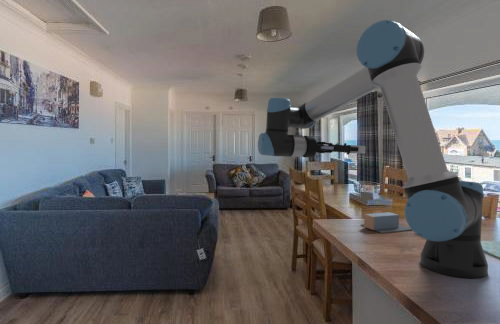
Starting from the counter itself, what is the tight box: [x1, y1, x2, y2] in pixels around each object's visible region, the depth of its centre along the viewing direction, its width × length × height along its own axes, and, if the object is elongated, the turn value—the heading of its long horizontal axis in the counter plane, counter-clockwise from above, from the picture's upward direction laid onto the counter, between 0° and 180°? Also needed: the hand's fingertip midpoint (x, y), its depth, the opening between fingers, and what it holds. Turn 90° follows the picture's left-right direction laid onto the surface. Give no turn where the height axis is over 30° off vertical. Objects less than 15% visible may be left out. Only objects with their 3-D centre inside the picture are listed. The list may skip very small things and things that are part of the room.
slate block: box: [363, 211, 400, 231], centre depth 127 cm, size 5×5×12 cm
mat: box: [360, 223, 413, 234], centre depth 128 cm, size 15×12×1 cm
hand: (364, 149), depth 119 cm, fingers closed
